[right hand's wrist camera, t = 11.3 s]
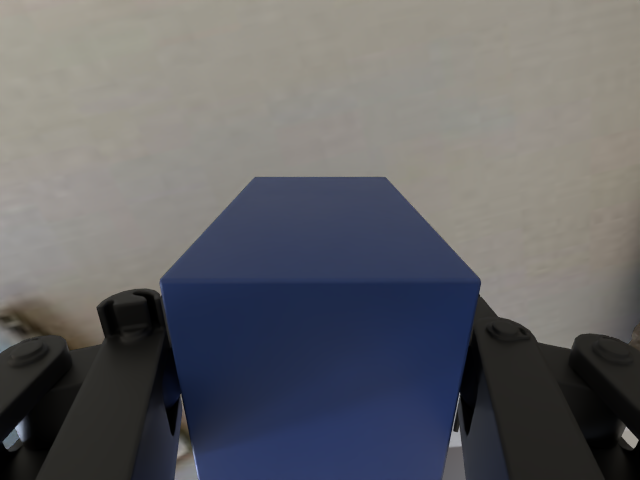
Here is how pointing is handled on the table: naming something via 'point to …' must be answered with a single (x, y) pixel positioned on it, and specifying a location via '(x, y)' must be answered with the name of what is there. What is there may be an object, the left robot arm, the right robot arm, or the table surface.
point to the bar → (320, 334)
